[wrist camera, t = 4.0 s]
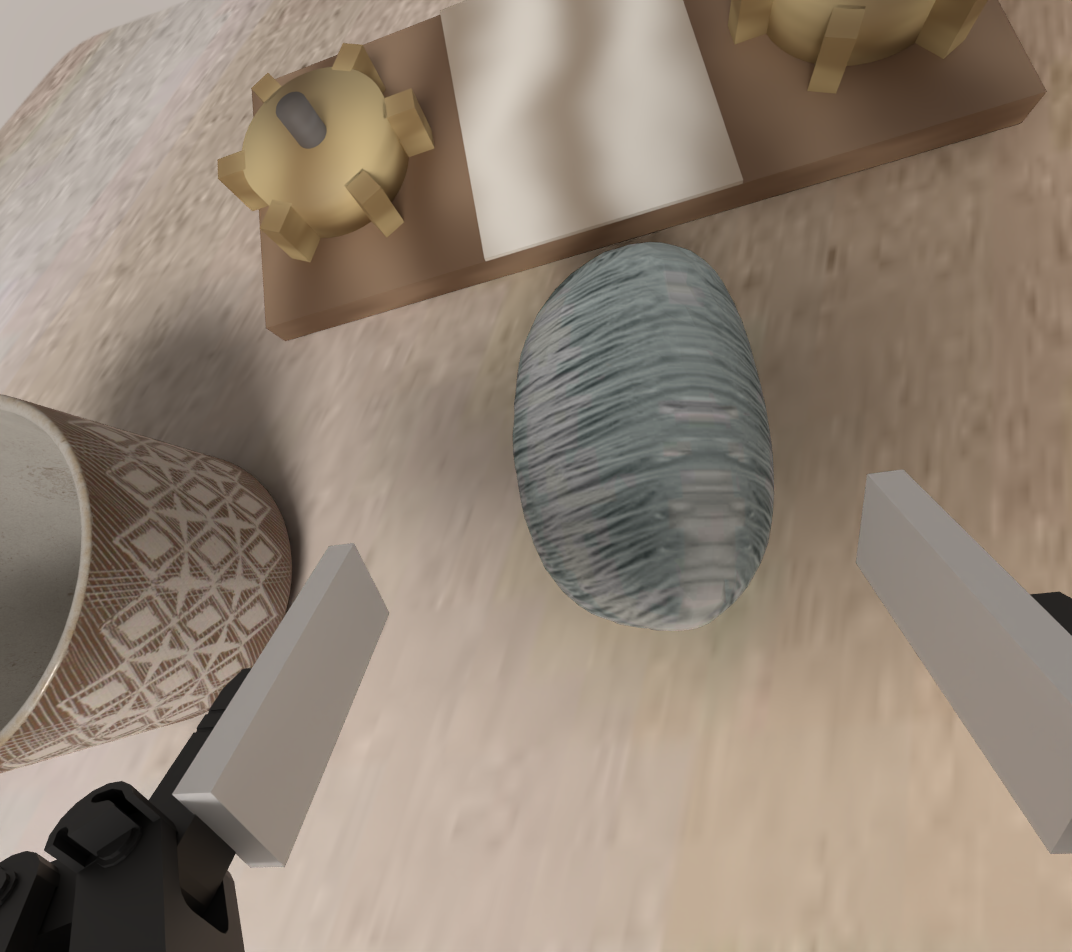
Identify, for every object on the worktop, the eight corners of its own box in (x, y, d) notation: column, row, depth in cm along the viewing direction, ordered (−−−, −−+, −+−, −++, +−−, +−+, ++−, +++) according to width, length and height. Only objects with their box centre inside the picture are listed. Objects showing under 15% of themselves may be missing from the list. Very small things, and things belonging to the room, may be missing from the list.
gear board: (902, -130, 26) (965, -309, 21) (1031, 120, 22) (1148, -23, 17) (263, 112, 32) (188, 20, 27) (278, 343, 28) (194, 287, 23)
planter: (340, 490, 26) (148, 431, 16) (256, 754, 24) (-22, 873, 14) (147, 441, 29) (-114, 365, 19) (59, 670, 27) (-281, 719, 17)
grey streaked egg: (489, 281, 23) (560, 157, 13) (684, 302, 25) (864, 210, 16) (485, 592, 23) (549, 692, 14) (675, 582, 26) (843, 660, 16)
